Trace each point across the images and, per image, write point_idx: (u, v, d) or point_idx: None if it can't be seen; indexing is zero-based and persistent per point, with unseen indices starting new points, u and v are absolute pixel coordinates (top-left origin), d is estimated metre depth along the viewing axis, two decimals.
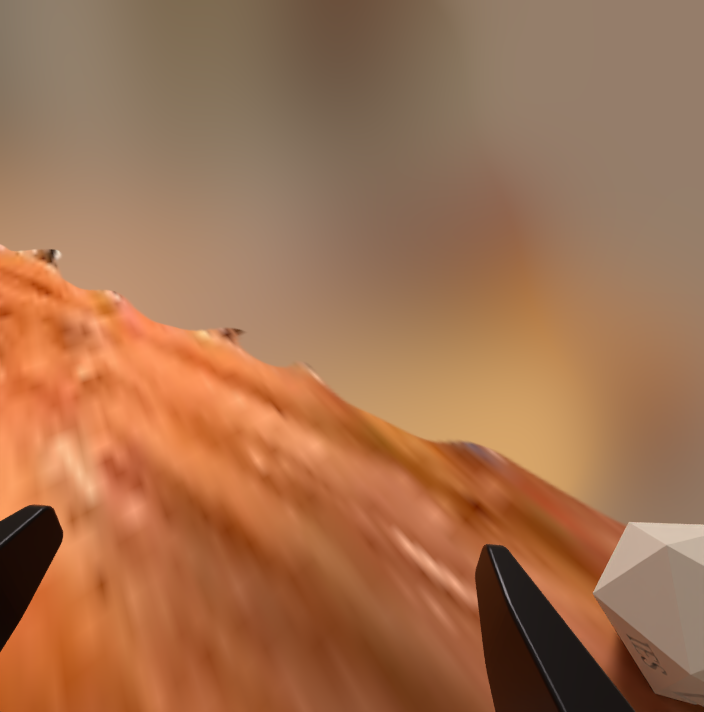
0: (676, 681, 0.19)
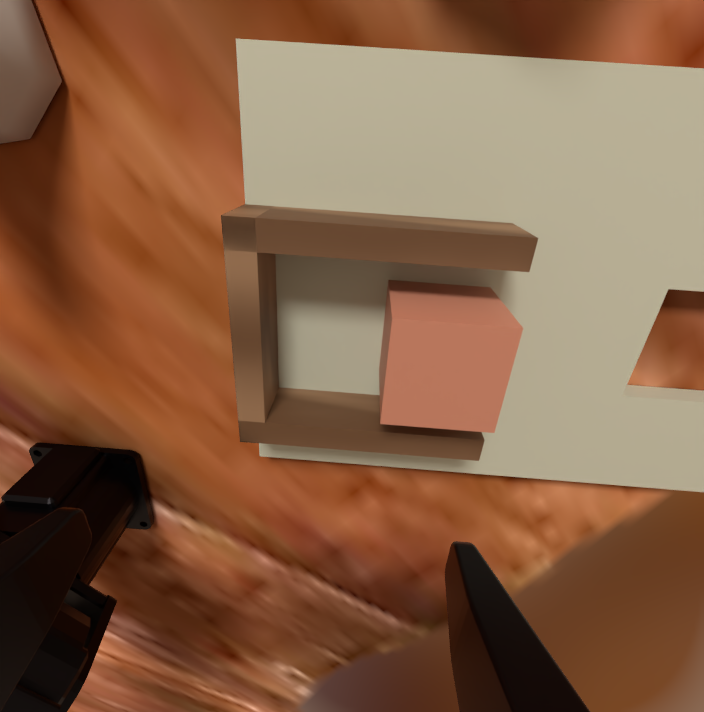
0: None
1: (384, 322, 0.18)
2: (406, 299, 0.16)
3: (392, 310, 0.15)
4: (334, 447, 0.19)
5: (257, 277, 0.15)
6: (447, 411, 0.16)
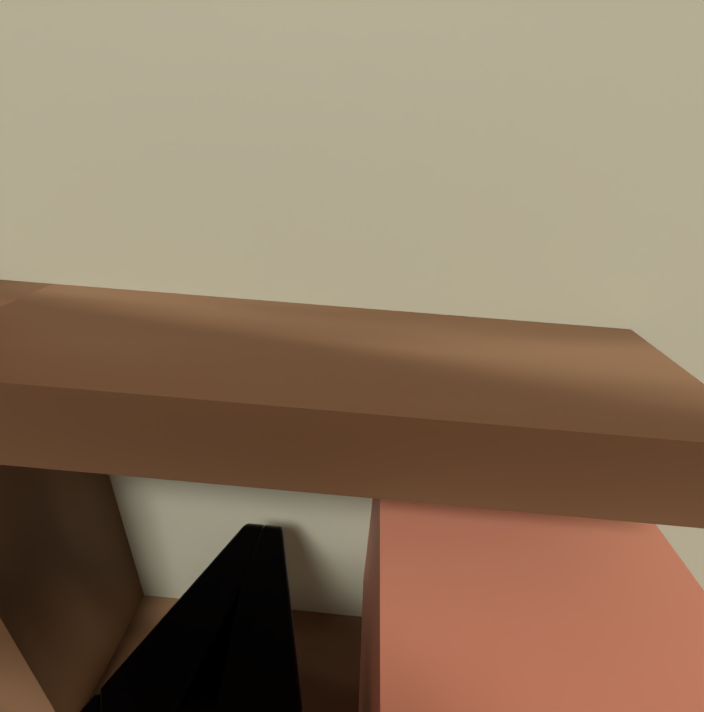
0: None
1: (371, 521, 0.09)
2: (422, 545, 0.06)
3: (383, 643, 0.05)
4: None
5: None
6: None
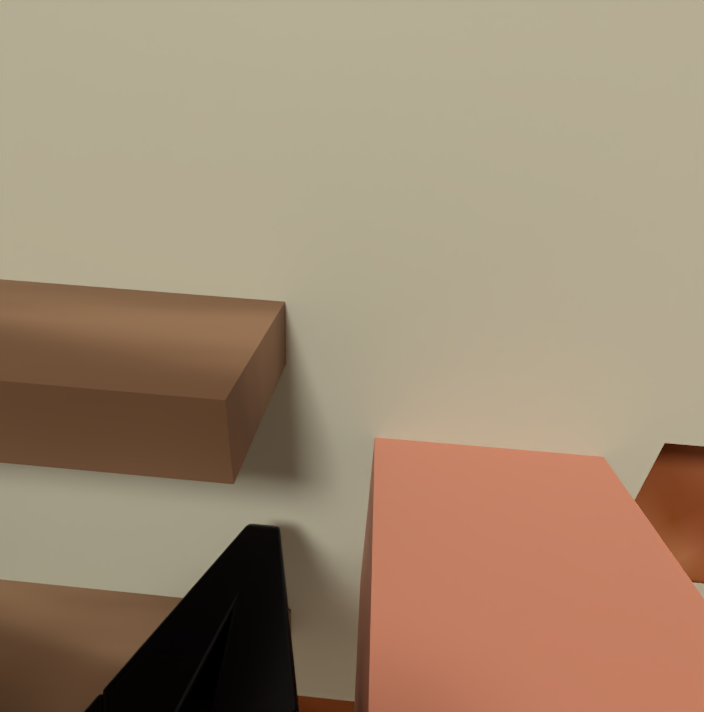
0: None
1: (367, 520, 0.09)
2: (415, 544, 0.06)
3: (373, 640, 0.05)
4: None
5: None
6: None
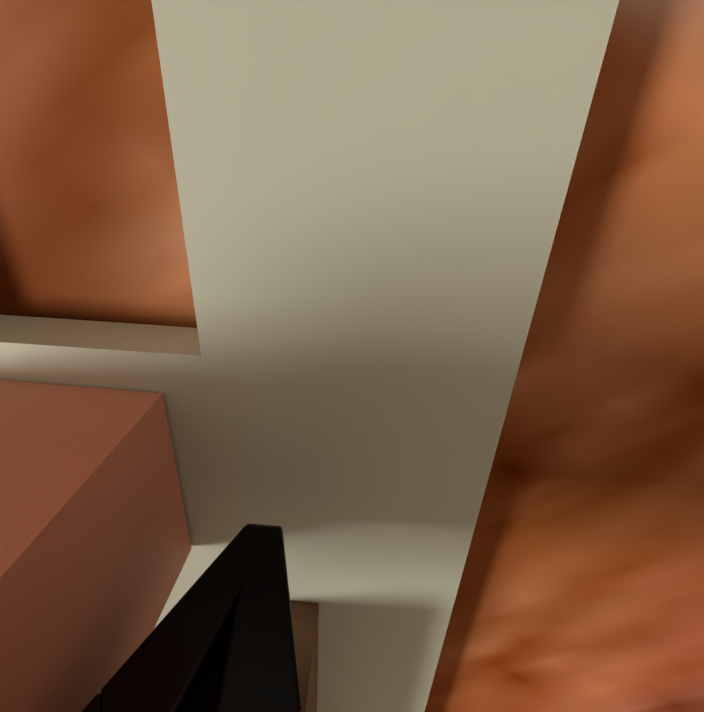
0: None
1: None
2: None
3: None
4: None
5: None
6: None
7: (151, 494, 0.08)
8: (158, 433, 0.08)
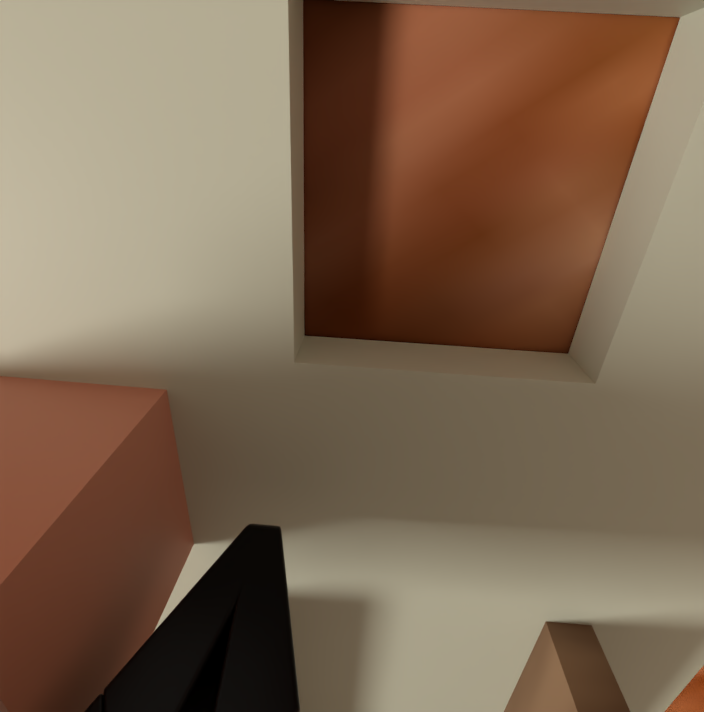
0: None
1: None
2: None
3: None
4: None
5: None
6: None
7: (154, 490, 0.08)
8: (163, 428, 0.08)
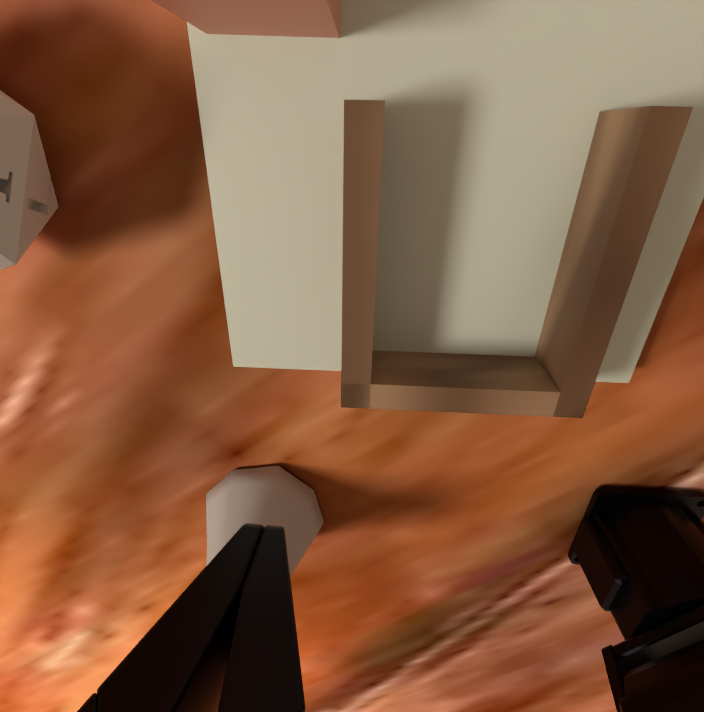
0: (32, 239, 0.16)
1: (258, 32, 0.13)
2: None
3: None
4: (614, 321, 0.15)
5: (393, 386, 0.17)
6: None
7: None
8: None
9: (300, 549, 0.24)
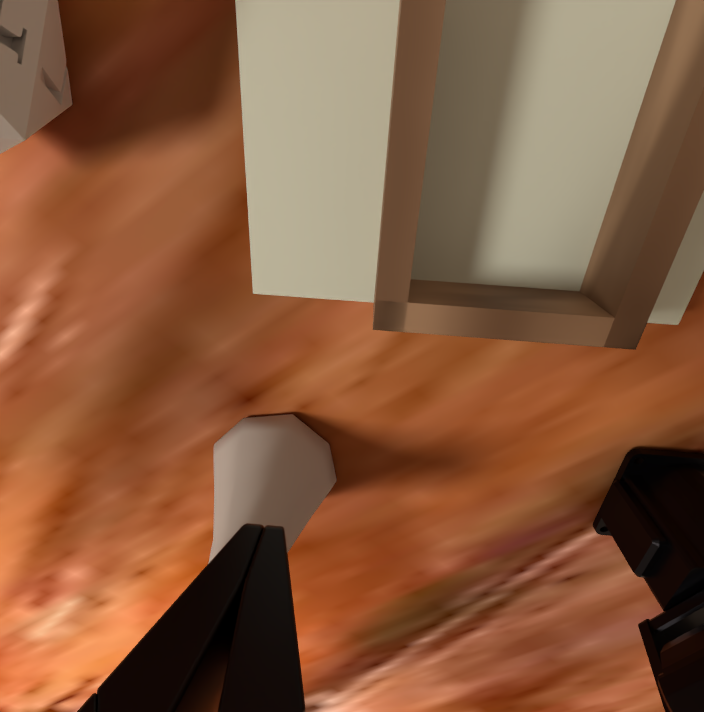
0: (43, 124, 0.14)
1: None
2: None
3: None
4: (682, 232, 0.13)
5: (432, 305, 0.15)
6: None
7: None
8: None
9: (313, 503, 0.22)
